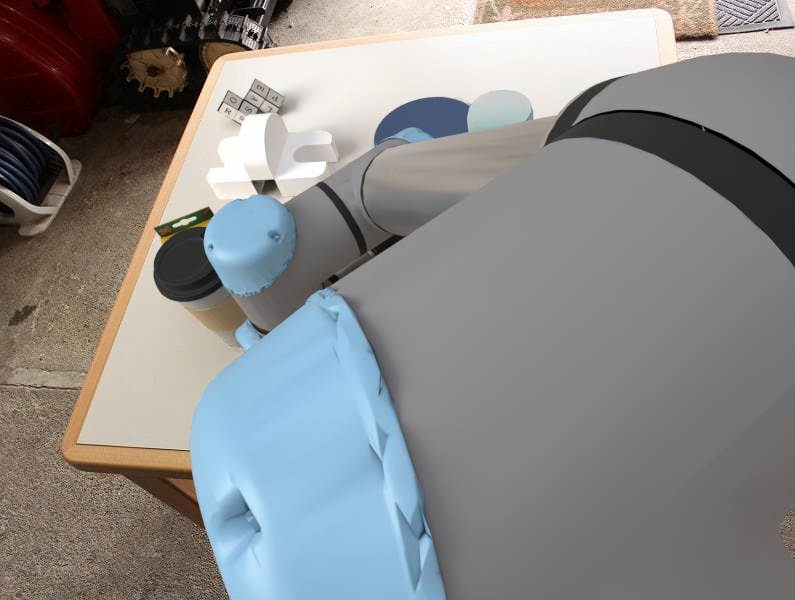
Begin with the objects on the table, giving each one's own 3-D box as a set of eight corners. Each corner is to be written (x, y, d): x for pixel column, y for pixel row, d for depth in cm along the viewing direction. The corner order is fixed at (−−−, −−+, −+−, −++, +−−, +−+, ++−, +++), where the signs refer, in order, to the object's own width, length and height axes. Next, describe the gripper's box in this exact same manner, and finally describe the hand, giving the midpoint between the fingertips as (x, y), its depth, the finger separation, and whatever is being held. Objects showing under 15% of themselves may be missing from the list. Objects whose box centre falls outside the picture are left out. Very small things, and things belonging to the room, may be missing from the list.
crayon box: (197, 299, 81) (153, 243, 71) (193, 283, 83) (150, 227, 73) (249, 277, 81) (212, 219, 72) (244, 261, 83) (208, 203, 74)
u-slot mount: (340, 147, 93) (322, 94, 85) (329, 194, 88) (309, 142, 80) (231, 155, 96) (204, 104, 88) (215, 200, 91) (184, 150, 83)
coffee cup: (287, 298, 78) (242, 221, 66) (266, 363, 73) (213, 293, 61) (221, 295, 81) (166, 220, 68) (196, 358, 76) (132, 289, 63)
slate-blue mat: (502, 140, 87) (502, 136, 87) (405, 190, 85) (405, 187, 85) (446, 86, 96) (445, 82, 96) (357, 130, 94) (356, 127, 94)
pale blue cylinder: (532, 259, 74) (533, 130, 58) (478, 259, 75) (464, 134, 59) (532, 218, 77) (533, 86, 61) (481, 219, 79) (468, 90, 63)
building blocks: (271, 116, 103) (228, 89, 100) (284, 97, 99) (239, 68, 96) (261, 137, 101) (216, 110, 97) (275, 119, 97) (228, 90, 93)
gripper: (333, 244, 71) (478, 138, 77) (442, 346, 61) (601, 216, 67) (315, 199, 65) (474, 88, 71) (432, 305, 55) (608, 166, 60)
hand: (535, 151), depth 69 cm, fingers closed on pale blue cylinder, 6 cm apart
